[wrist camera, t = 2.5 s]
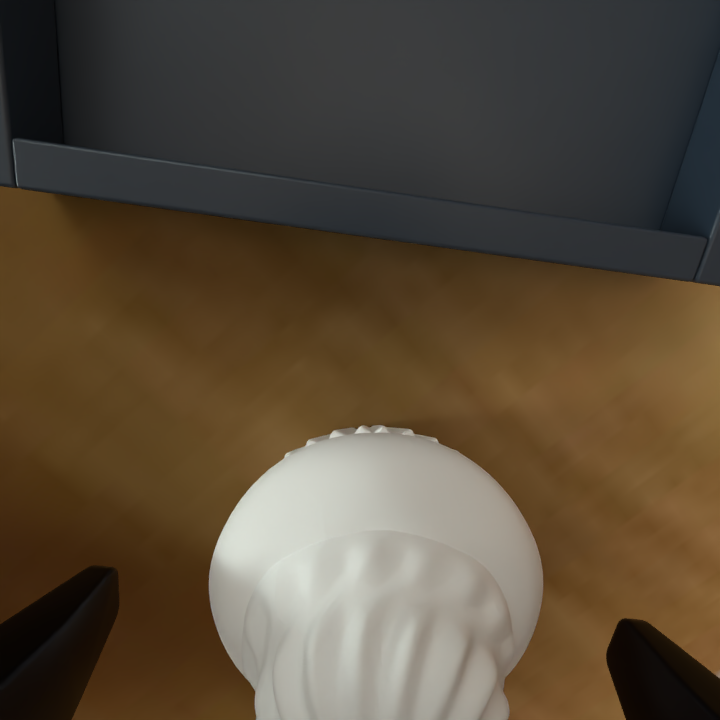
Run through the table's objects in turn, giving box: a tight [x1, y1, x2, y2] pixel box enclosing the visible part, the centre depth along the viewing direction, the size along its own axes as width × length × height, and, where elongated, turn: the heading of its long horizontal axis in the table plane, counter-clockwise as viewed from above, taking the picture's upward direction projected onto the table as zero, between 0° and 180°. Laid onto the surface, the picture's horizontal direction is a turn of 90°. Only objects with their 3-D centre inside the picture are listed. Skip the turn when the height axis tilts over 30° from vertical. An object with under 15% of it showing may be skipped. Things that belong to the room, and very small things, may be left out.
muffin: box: [209, 425, 543, 720], centre depth 9 cm, size 6×6×7 cm
